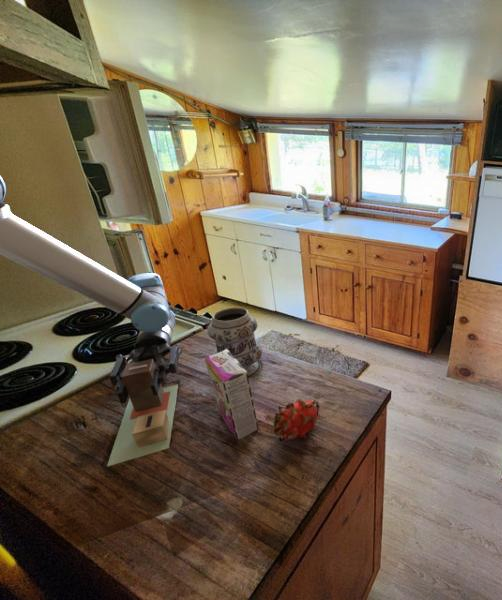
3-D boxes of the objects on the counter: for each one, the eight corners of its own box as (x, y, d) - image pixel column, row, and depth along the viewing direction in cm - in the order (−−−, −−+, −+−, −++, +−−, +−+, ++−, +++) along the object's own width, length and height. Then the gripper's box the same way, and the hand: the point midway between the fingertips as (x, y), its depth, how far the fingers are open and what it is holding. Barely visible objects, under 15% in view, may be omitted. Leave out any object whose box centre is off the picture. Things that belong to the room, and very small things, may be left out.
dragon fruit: (272, 454, 68) (315, 425, 78) (294, 451, 64) (337, 421, 73) (257, 416, 69) (302, 392, 79) (278, 410, 64) (323, 386, 74)
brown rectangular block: (135, 412, 74) (121, 376, 69) (139, 398, 78) (126, 363, 73) (161, 405, 76) (149, 370, 72) (164, 392, 80) (152, 358, 76)
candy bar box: (218, 414, 76) (203, 356, 69) (239, 404, 79) (227, 347, 72) (236, 443, 69) (222, 381, 62) (259, 430, 72) (248, 370, 65)
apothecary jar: (254, 353, 98) (244, 299, 91) (272, 371, 91) (263, 314, 83) (211, 369, 91) (197, 312, 83) (227, 391, 83) (213, 330, 75)
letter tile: (138, 448, 66) (131, 433, 64) (142, 430, 70) (136, 416, 68) (167, 439, 68) (162, 425, 67) (169, 423, 72) (165, 409, 71)
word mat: (107, 468, 62) (106, 466, 62) (130, 396, 80) (130, 394, 80) (169, 449, 67) (168, 447, 66) (178, 385, 84) (178, 383, 84)
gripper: (195, 345, 94) (190, 395, 75) (116, 360, 86) (90, 420, 67) (189, 322, 91) (183, 369, 72) (107, 336, 83) (76, 392, 64)
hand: (138, 394), depth 70 cm, fingers closed on brown rectangular block, 5 cm apart
